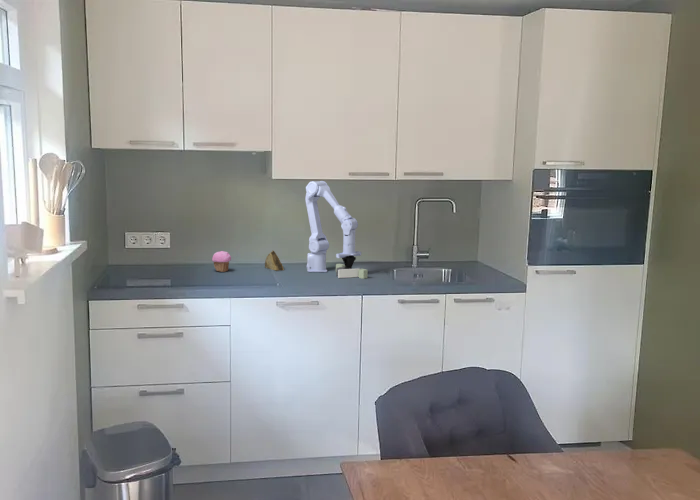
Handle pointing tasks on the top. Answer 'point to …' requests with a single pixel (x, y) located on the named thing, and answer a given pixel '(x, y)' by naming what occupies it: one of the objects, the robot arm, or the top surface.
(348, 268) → the block
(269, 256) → the rock
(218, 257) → the cupcake
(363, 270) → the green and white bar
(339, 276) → the door
